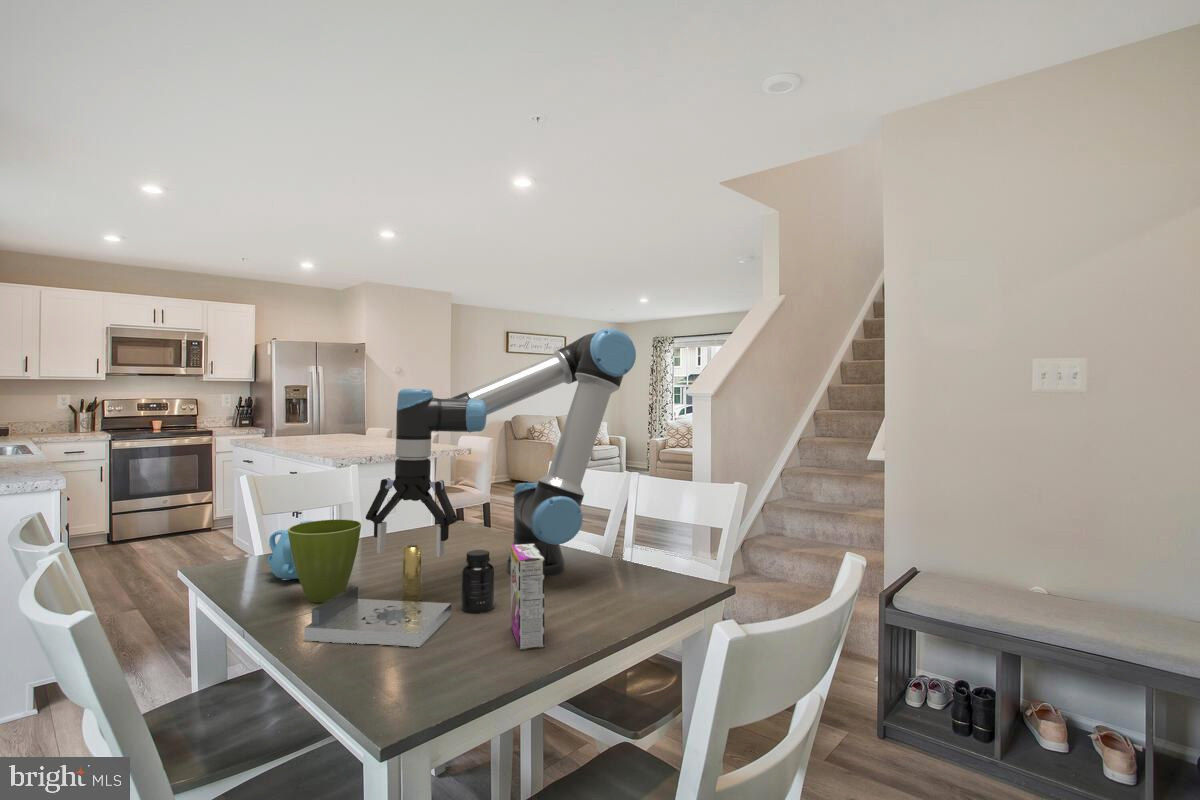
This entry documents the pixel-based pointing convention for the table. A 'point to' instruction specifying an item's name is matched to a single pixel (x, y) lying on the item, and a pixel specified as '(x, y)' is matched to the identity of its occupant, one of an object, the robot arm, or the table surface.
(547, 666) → the table surface
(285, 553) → the decorative pot
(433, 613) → the plate
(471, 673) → the table surface
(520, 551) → the candy bar box
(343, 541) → the flower pot
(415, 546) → the cylinder
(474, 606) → the supplement bottle
